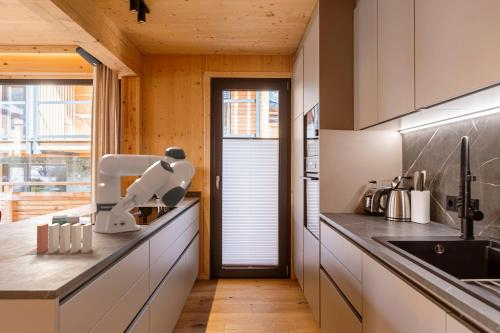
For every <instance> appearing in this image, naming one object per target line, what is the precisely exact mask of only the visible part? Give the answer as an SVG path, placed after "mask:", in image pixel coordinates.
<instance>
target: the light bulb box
mask: <svg viewBox="0 0 500 333" xmlns="http://www.w3.org/2000/svg"><path fill="white" fill-rule="evenodd" d="M55 223H60V225H59V241H60V226H61V225H63V224H66V223H71V224H70V240H71V231H72V225H75V224H77V223H80V214H79V213H78V214H61V215H60V214H59V215H58V214H57V215H52V218H51V225H52V224H55Z"/></svg>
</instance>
